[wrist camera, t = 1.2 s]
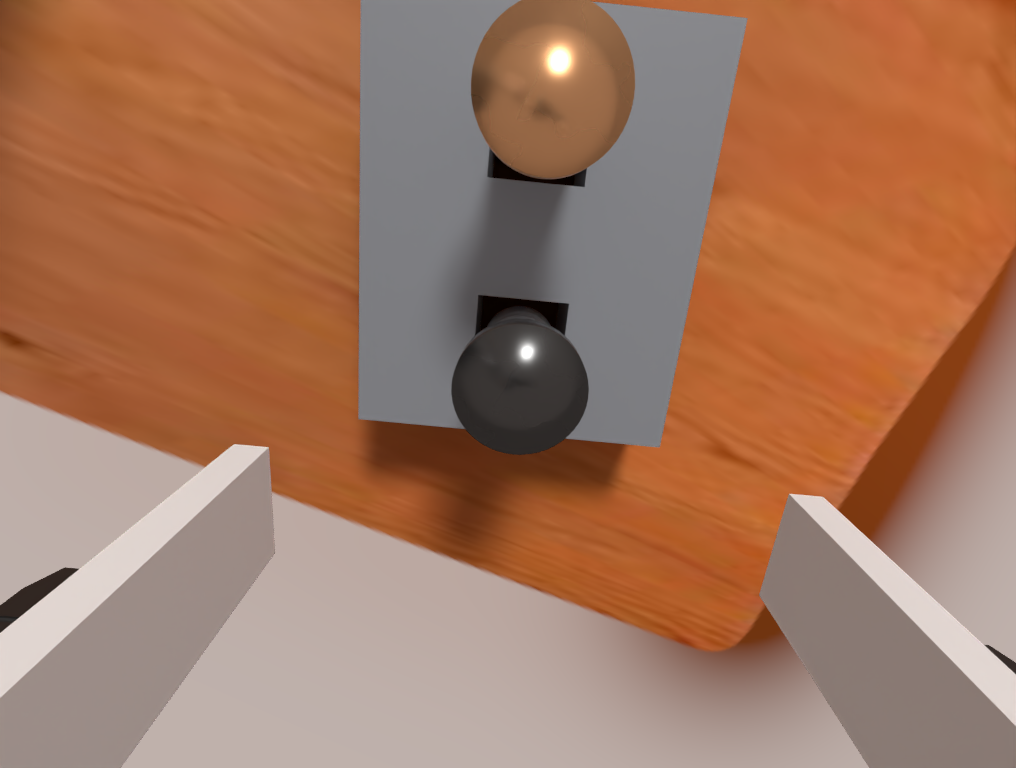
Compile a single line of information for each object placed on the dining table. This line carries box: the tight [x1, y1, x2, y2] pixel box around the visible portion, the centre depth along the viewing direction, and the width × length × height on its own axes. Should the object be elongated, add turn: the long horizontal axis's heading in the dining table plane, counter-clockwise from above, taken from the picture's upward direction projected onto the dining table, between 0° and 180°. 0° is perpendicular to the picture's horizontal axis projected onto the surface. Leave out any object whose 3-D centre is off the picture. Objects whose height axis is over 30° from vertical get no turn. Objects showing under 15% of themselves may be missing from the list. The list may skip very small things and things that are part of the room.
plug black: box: [451, 306, 589, 455], centre depth 25 cm, size 6×6×9 cm
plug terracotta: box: [471, 0, 635, 179], centre depth 22 cm, size 6×6×9 cm
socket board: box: [359, 0, 747, 447], centre depth 30 cm, size 18×22×6 cm
